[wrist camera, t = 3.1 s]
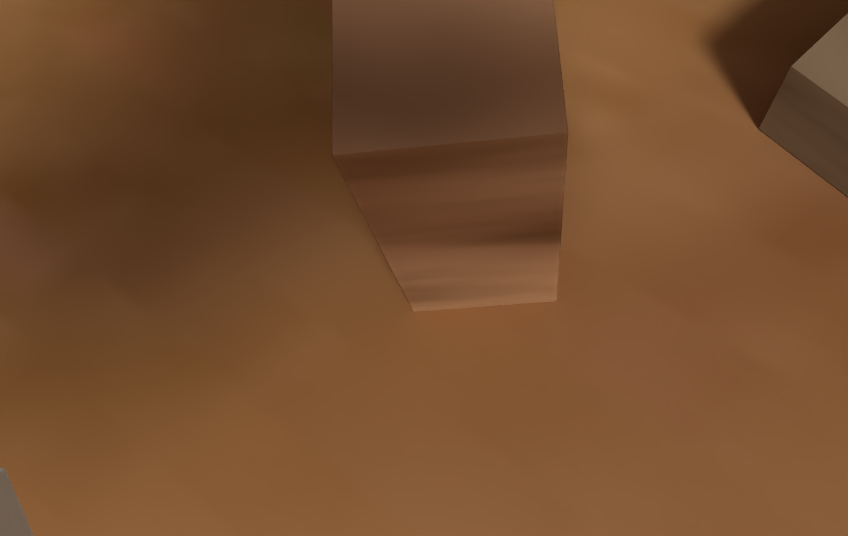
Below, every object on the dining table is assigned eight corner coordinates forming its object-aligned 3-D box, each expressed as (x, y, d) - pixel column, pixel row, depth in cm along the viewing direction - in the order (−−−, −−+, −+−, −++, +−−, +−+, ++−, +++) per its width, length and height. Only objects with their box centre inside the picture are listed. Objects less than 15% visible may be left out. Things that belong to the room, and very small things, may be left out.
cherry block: (409, 183, 30) (332, -36, 19) (544, 170, 30) (546, -62, 18) (413, 311, 28) (331, 154, 17) (556, 300, 28) (568, 132, 17)
